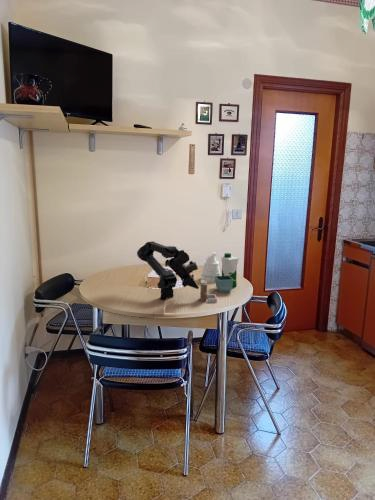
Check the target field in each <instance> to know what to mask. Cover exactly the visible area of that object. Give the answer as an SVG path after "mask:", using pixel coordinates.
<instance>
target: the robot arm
mask: <svg viewBox="0 0 375 500" xmlns="http://www.w3.org/2000/svg"><path fill="white" fill-rule="evenodd" d="M155 252H157V253H159V254H161V257H163V258H165V259H166V260H165V261H164V264H165V265H164V266H165V267H169V268H170V269H169V270H166V269H165V268H164V267H163V265H162V264H161V263H160V262H159V261H158V259H156V257H154V253H155ZM136 257H138V258H139V259H140V260H141V261H142V262H146V263H147V264H148V265H149V266H150V268H151V269H152V270H153V271H154V272H155V273H156V275H157V276H158V278H159V281H158V282H157V288H158V289H160V299H159V300H161V301H163V300H164V301H167V299H171V298H174V289H173V288H176V285H177V281H178V278H177V276H178V277H179V278H180V280H181V286H182V287H183V288H186V287H187V286H188V287H191V288H194V289H196V290H198V289H200V287H199V285H198V284H197V282H196V280H195V279H194V278H195V277H194V275H195V274H194V273H193V271H197V270H199V268H198V265H197V263H196V262H195V261H193V260H191V261H190V255H189V254H188V253H187V251H186V252H185V250H184V249H181V250H179V249H177V246H173V245H164V244H160V243H158V242H155V241H153V240H152V241H147V242H146V243H144V245H142V246H141V247H139V248H138V250H137V251H136ZM188 262H189V263H188ZM186 263H188V264H187V265H185V264H186ZM191 273H192V274H191Z"/></svg>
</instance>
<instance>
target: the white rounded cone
mask: <svg viewBox="0 0 375 500" xmlns="http://www.w3.org/2000/svg"><path fill="white" fill-rule="evenodd" d="M216 256H217V252H212V254H210V255H208V256H207V257H206V260H205V261H204V262H203V266H202V269H201V271H200V273H201V274H200V281H201V280H206V281H207V283H216V282H215V276H222V271H221V269H220V266H219V264H220V262H219V261H218V259H216Z"/></svg>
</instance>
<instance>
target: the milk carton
mask: <svg viewBox="0 0 375 500" xmlns="http://www.w3.org/2000/svg"><path fill="white" fill-rule="evenodd" d="M220 259H221V276H230V277H231V278H232V279H233V285H232V288H235V287H237V286H238V285H237V284H238V283H237V272H238V262H239V257H236V256H233V255H232V254H231V253H230V252H229V253H228V252H224V256H220Z"/></svg>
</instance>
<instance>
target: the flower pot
mask: <svg viewBox="0 0 375 500" xmlns="http://www.w3.org/2000/svg"><path fill="white" fill-rule="evenodd" d="M214 283H215V287H216V289H217V291H218V292H219V293H230V292H232V288H233V287H232V285H233V279H232V278H231V277H230V276H222V275H221V276H215V282H214Z"/></svg>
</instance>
